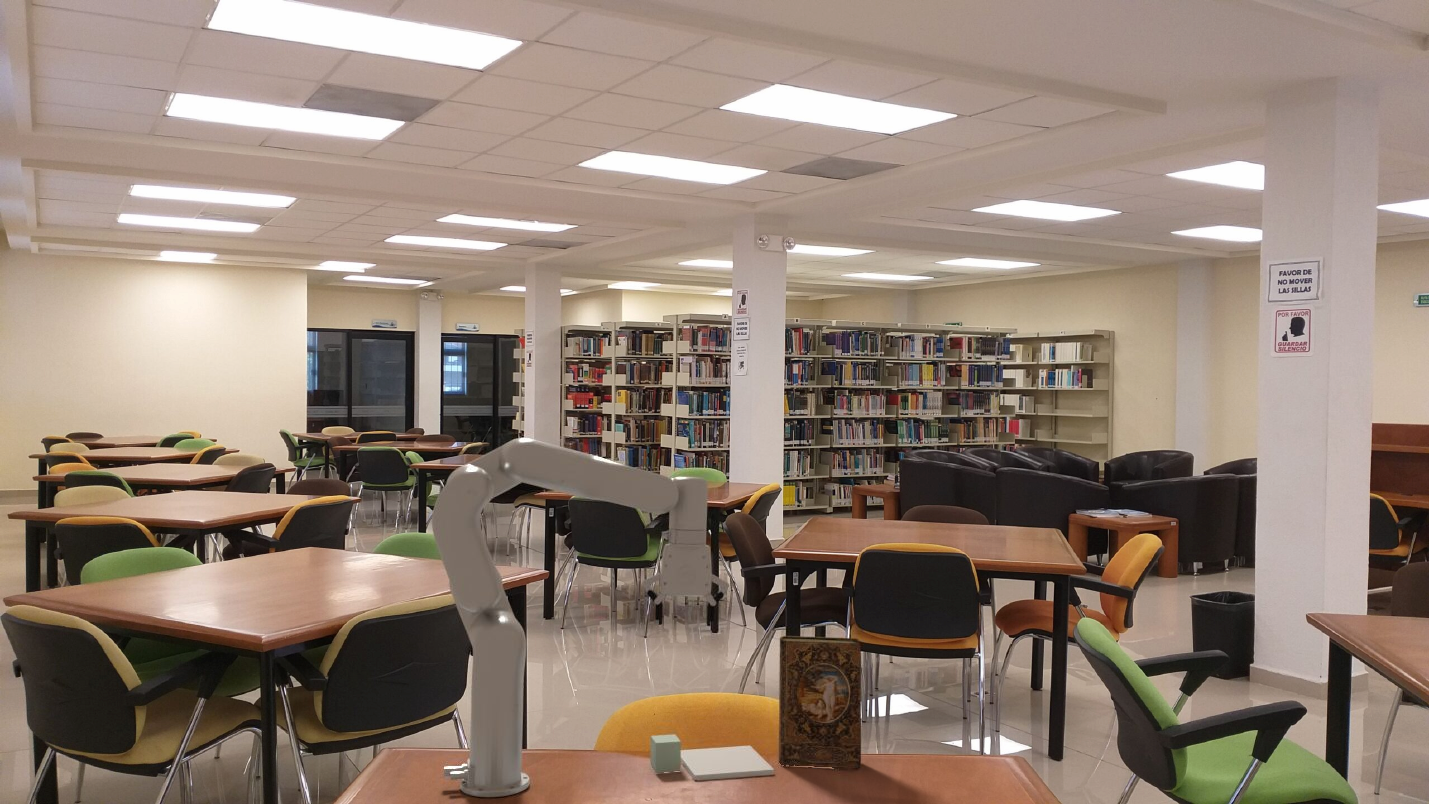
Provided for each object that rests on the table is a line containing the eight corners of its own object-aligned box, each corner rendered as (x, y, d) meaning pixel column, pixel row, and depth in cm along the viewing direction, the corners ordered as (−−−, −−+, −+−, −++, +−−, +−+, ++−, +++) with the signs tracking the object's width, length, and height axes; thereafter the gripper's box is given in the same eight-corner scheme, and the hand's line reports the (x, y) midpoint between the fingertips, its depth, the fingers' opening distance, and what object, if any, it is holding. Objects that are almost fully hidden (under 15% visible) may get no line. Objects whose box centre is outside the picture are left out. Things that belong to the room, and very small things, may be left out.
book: (778, 767, 194) (779, 640, 195) (779, 758, 199) (780, 635, 201) (861, 770, 192) (861, 643, 194) (859, 762, 198) (860, 638, 199)
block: (655, 774, 188) (655, 743, 189) (650, 766, 193) (650, 735, 194) (680, 772, 190) (680, 741, 190) (674, 764, 195) (675, 734, 195)
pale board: (694, 780, 185) (694, 775, 185) (675, 755, 200) (676, 750, 200) (774, 774, 189) (774, 769, 189) (749, 750, 204) (749, 745, 204)
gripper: (643, 538, 190) (640, 626, 189) (731, 541, 191) (728, 628, 190) (644, 535, 198) (641, 620, 197) (729, 538, 198) (726, 622, 197)
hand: (684, 624), depth 193 cm, fingers open, 9 cm apart
